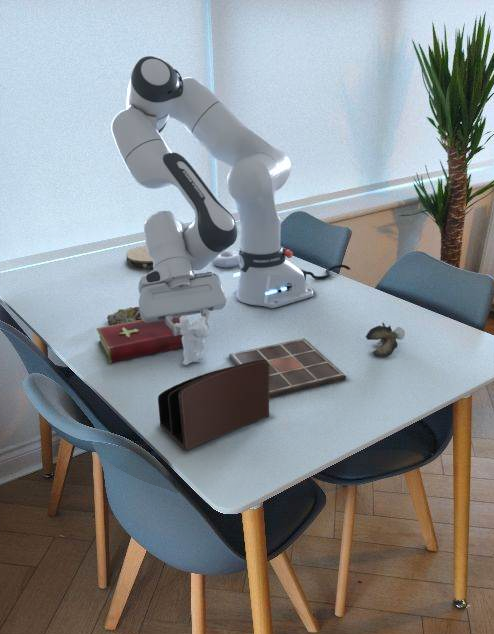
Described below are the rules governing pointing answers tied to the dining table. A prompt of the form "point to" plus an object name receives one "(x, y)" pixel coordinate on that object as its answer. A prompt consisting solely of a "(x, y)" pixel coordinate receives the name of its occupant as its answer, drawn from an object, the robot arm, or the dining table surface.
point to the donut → (227, 259)
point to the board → (292, 366)
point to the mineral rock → (125, 316)
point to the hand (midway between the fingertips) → (191, 332)
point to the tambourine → (139, 258)
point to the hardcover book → (138, 339)
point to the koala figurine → (192, 339)
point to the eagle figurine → (385, 339)
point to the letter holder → (215, 403)
